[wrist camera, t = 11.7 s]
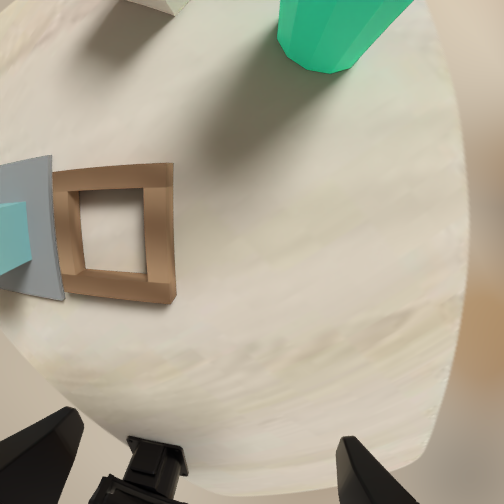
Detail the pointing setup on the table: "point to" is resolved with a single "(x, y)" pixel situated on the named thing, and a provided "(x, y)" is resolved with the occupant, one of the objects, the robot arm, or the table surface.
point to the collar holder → (155, 224)
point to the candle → (333, 30)
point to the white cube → (164, 5)
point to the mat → (33, 227)
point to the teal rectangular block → (13, 236)
